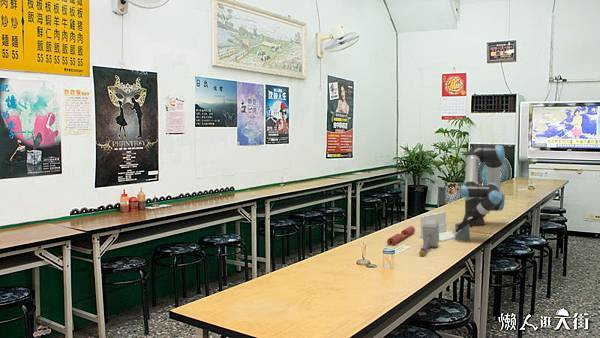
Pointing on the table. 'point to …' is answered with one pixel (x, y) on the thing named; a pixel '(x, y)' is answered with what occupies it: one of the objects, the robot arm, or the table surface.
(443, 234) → the rail panel
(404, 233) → the blood vessel
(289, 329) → the table surface
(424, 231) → the grey angled piece
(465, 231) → the block
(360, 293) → the table surface
